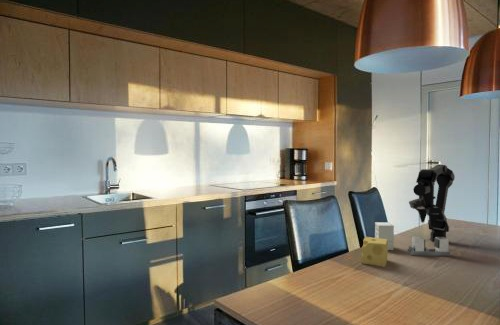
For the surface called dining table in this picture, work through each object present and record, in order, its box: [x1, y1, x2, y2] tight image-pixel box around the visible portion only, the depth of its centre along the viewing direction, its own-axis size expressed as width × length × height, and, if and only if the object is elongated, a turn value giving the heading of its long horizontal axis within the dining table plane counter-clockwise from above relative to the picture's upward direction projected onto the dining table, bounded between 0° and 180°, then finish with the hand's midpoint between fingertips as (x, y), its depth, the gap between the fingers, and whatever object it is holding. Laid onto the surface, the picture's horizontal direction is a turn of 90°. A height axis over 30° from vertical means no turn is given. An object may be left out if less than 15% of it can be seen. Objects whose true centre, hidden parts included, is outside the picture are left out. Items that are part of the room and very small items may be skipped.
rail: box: [407, 237, 451, 257], centre depth 158 cm, size 18×4×8 cm, turn 87°
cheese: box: [360, 236, 389, 268], centre depth 147 cm, size 10×11×10 cm
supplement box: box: [374, 221, 395, 251], centre depth 168 cm, size 7×7×13 cm
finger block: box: [411, 235, 426, 251], centre depth 158 cm, size 5×4×6 cm
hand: (426, 224), depth 168 cm, fingers open, 9 cm apart
